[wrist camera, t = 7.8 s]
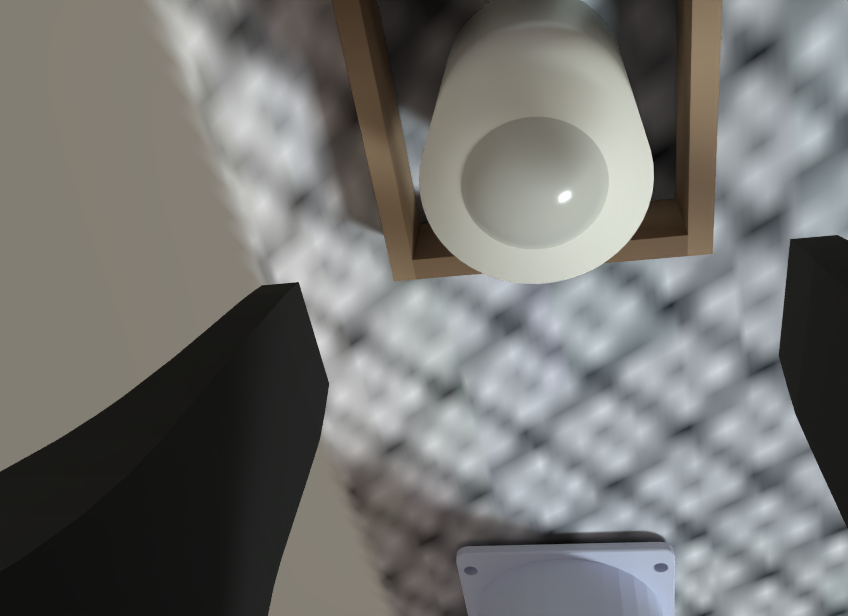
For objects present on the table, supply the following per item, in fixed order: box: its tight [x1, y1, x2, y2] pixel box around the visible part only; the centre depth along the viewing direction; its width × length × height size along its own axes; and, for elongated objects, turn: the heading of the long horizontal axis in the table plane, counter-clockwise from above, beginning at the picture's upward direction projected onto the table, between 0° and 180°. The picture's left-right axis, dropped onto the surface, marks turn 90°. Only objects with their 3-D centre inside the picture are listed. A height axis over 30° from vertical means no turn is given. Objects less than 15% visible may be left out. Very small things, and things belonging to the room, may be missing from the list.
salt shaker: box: [419, 0, 654, 284], centre depth 17 cm, size 4×4×7 cm
